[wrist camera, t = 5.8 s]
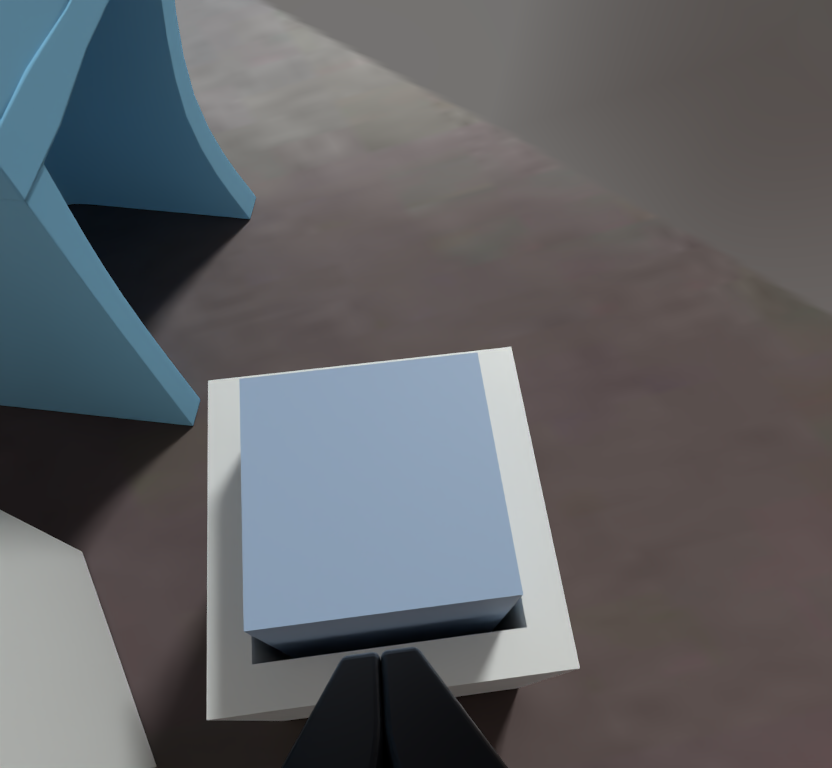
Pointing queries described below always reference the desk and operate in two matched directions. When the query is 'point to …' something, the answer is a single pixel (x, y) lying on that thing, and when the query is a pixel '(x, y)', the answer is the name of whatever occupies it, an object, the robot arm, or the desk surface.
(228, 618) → the keypad
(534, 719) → the desk surface
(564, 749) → the desk surface
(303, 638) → the blue key
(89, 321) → the vase
